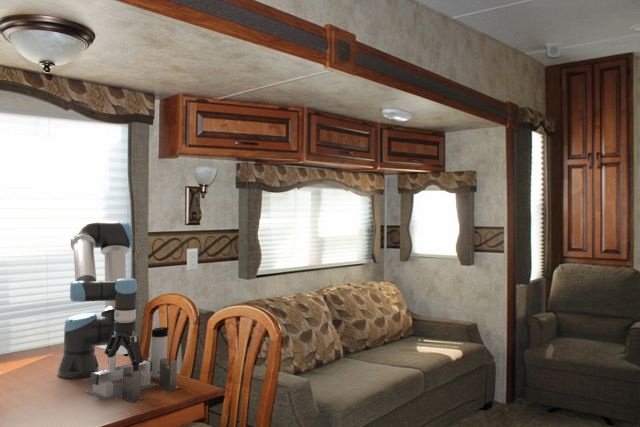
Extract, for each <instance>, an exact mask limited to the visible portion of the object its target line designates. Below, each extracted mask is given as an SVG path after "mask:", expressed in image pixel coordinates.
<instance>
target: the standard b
mask: <svg viewBox="0 0 640 427" xmlns="http://www.w3.org/2000/svg"><path fill="white" fill-rule="evenodd" d="M177 372H178V360H172V361H169V357H167V358H164V359H160V375H159V379H158V382H159V383H158V384H157V385H156V386H154V387H155V388H157V389H160V390H161V391H166V392H168V393H169V392H173V391H177V390H179V389H181V387H180V386H178V385H177V374H178V373H177Z"/></svg>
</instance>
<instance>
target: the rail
mask: <svg viewBox="0 0 640 427" xmlns="http://www.w3.org/2000/svg"><path fill="white" fill-rule="evenodd" d="M131 364H132V363H130V364H128V363H127V364H124V365H121V366H116V367H115V368H111V369H103V370H99V371H98V372H94V373H93V372H92V373H91V376H90V380H89V381H90V384H92V385H93V384H94V385H99V384H103V383H106V382H113V381H118V380H121V379H122V380H123V368H126V367H130V366H131ZM138 370H141V374H142V373H145V372H148V373H150V371H152V361H151V360H148V359H145V360H143V363H139V369H138Z"/></svg>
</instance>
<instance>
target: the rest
mask: <svg viewBox="0 0 640 427" xmlns="http://www.w3.org/2000/svg"><path fill="white" fill-rule="evenodd" d="M156 385H158V384H157V383H153V382H151V373H150V372H145V373H142V374H141V386H140V391H143V390H147V389H150V388H154V387H155V386H156ZM122 387H123V381H121V382H117V383H114V382H113V381H110V382H106V383H103V384H99V385H94V384H92V389H90V390H86V391H85V394H88V395H91V396H93V397H95V398H98V399H100V400H103V401H108V400H111V399H114V398H118V396H120V395H122Z"/></svg>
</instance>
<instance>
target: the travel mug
mask: <svg viewBox="0 0 640 427" xmlns="http://www.w3.org/2000/svg"><path fill="white" fill-rule="evenodd" d="M168 330H169V327H165V326H163V327H156V328H153V329H151V339H150V340H151V342H150V361H152V371H149V373H151V378H150V380H159V375H160V359H164V358H168V339H169V337H168V336H169V335H168V333H169V331H168Z"/></svg>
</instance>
